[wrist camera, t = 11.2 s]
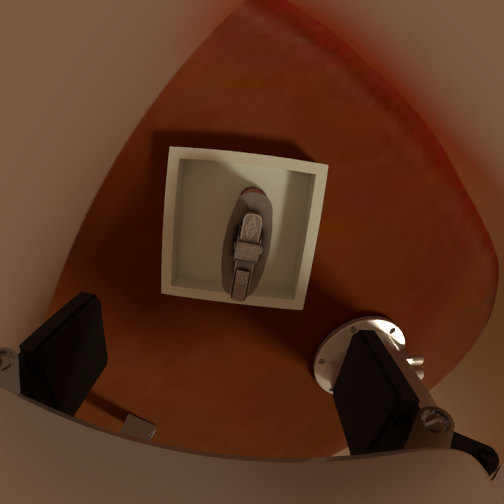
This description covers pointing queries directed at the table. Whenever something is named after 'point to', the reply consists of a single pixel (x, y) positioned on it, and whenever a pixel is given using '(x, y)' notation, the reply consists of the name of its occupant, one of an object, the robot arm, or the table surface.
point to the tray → (219, 212)
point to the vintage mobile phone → (138, 427)
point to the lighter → (246, 243)
